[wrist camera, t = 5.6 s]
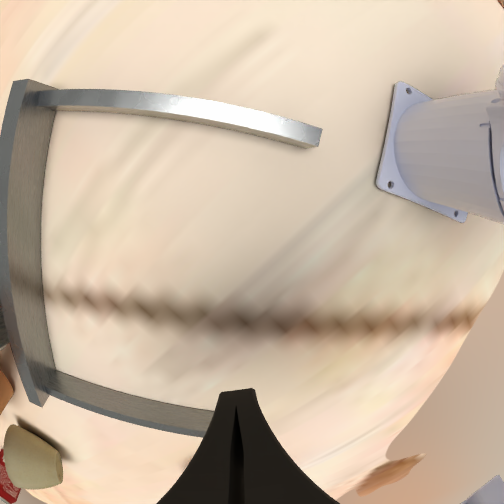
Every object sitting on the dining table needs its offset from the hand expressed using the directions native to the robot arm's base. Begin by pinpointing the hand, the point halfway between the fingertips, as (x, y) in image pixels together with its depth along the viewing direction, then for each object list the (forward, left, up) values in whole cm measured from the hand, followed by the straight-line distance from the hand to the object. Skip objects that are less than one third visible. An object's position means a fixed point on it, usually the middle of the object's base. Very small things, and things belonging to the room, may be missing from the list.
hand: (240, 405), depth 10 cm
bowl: (+18, +30, -6) cm, 35 cm away
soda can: (+35, +46, -9) cm, 59 cm away
